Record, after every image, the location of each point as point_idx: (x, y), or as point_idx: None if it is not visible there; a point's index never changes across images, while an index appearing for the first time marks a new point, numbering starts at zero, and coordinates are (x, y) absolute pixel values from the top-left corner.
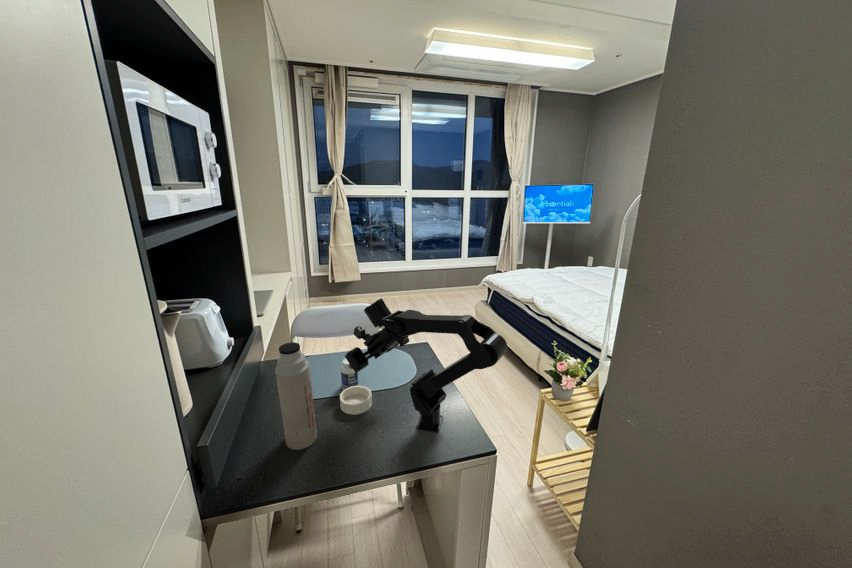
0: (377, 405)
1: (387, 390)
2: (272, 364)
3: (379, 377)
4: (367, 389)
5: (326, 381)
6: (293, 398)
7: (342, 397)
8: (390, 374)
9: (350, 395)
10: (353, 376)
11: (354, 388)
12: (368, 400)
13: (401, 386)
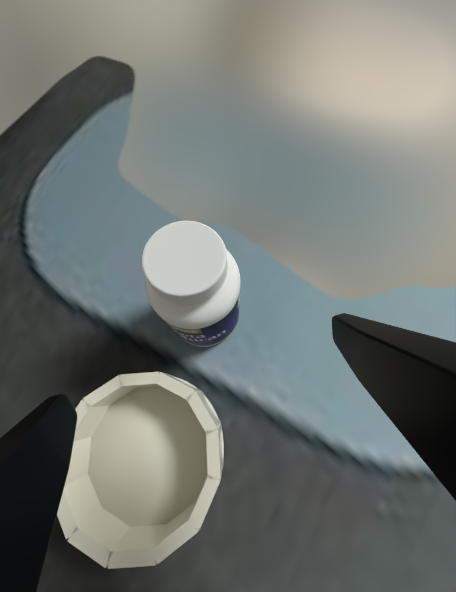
0: (221, 533)
1: (323, 456)
2: (90, 70)
3: None
4: (209, 461)
5: (156, 231)
6: None
7: (98, 405)
8: None
9: (159, 385)
10: (194, 333)
11: (171, 391)
12: (160, 559)
13: (401, 478)
